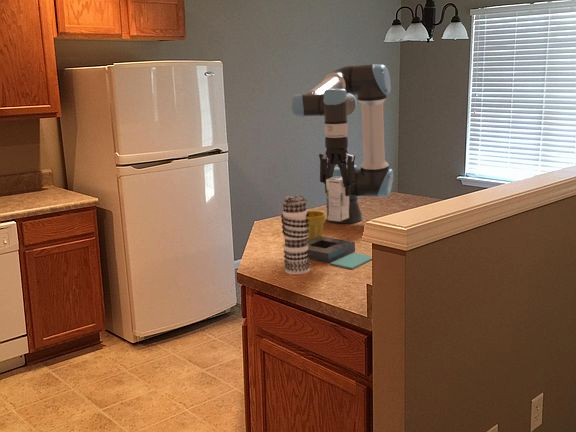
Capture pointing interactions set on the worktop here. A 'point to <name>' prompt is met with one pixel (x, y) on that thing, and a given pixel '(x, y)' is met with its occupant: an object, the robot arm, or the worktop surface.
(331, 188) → the syrup box
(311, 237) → the plant pot
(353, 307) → the worktop surface
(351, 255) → the mat
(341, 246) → the grey square tray
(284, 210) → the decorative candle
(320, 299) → the worktop surface
